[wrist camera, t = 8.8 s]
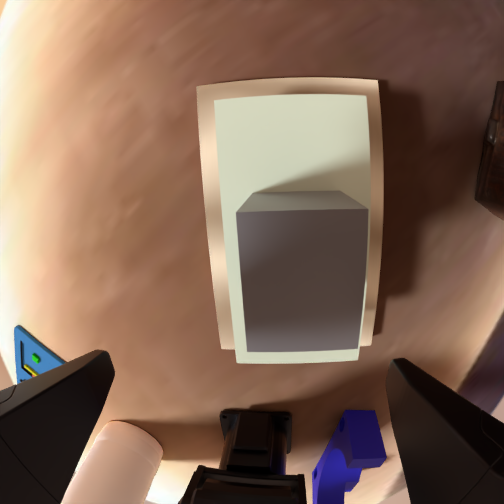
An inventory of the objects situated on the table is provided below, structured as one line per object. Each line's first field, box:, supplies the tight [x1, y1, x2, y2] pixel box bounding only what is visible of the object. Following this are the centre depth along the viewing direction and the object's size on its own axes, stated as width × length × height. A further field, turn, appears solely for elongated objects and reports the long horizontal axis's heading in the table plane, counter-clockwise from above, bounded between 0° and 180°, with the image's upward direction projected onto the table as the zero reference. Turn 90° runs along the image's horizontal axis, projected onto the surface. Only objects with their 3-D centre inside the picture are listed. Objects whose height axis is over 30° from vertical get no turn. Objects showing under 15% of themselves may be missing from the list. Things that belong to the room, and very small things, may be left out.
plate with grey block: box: [214, 94, 371, 364], centre depth 13 cm, size 7×14×6 cm, turn 4°
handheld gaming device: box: [14, 325, 65, 384], centre depth 28 cm, size 8×1×15 cm
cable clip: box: [312, 410, 387, 504], centre depth 23 cm, size 12×4×6 cm, turn 173°
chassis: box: [196, 77, 384, 349], centre depth 17 cm, size 18×11×4 cm, turn 4°
